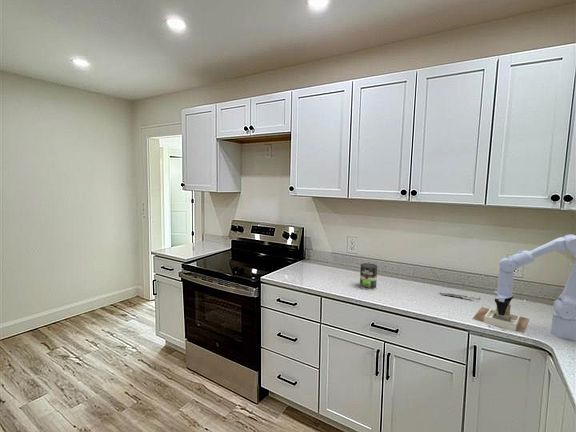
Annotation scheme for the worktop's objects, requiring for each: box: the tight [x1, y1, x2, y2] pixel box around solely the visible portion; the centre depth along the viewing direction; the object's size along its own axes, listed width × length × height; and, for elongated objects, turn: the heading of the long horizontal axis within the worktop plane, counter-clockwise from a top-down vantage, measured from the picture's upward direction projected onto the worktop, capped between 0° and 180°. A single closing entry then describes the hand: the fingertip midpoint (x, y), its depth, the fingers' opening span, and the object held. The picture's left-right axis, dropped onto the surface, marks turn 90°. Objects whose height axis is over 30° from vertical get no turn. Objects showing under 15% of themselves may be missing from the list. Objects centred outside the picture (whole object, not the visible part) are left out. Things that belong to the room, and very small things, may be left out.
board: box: [471, 306, 530, 334], centre depth 149 cm, size 20×20×1 cm
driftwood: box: [440, 292, 481, 302], centre depth 179 cm, size 21×7×2 cm, turn 58°
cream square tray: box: [483, 308, 521, 332], centre depth 145 cm, size 12×12×3 cm
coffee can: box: [359, 262, 378, 291], centre depth 193 cm, size 10×10×14 cm
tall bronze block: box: [495, 304, 512, 319], centre depth 145 cm, size 2×5×8 cm, turn 47°
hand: (502, 312), depth 145 cm, fingers open, 7 cm apart
